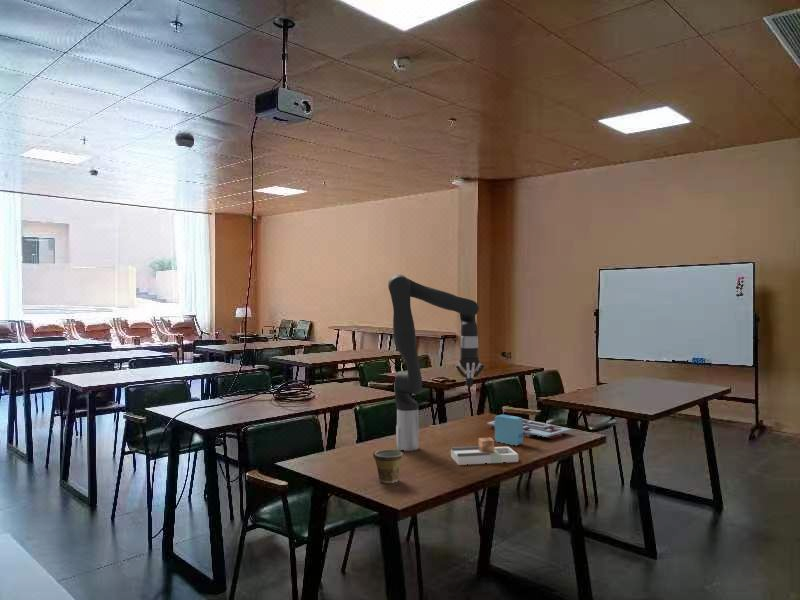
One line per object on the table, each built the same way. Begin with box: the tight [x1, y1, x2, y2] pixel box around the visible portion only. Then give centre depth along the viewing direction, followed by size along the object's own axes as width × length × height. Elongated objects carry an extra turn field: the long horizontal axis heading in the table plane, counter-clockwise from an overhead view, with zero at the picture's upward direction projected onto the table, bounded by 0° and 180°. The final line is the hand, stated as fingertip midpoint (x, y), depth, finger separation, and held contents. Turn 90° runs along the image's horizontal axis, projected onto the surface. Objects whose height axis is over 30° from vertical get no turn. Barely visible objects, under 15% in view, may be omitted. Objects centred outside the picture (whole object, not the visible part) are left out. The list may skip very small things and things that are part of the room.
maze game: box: [486, 418, 572, 439], centre depth 282 cm, size 35×20×3 cm, turn 40°
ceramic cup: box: [372, 449, 403, 484], centre depth 210 cm, size 13×10×10 cm
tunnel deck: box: [450, 445, 519, 466], centre depth 236 cm, size 24×12×4 cm, turn 99°
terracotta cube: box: [478, 437, 495, 453], centre depth 236 cm, size 5×5×5 cm
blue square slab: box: [494, 414, 524, 447], centre depth 260 cm, size 12×4×12 cm, turn 48°
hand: (469, 386), depth 250 cm, fingers closed
